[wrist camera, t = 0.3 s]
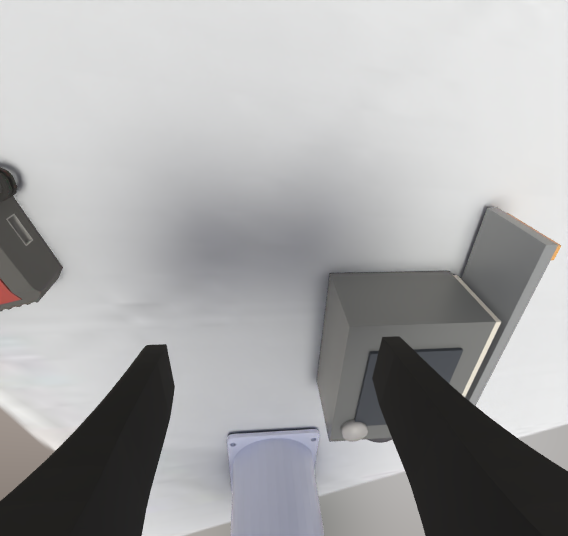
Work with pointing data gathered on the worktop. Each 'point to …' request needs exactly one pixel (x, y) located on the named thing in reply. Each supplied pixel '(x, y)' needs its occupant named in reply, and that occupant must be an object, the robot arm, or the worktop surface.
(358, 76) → the worktop surface
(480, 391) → the side door
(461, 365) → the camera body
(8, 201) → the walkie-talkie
